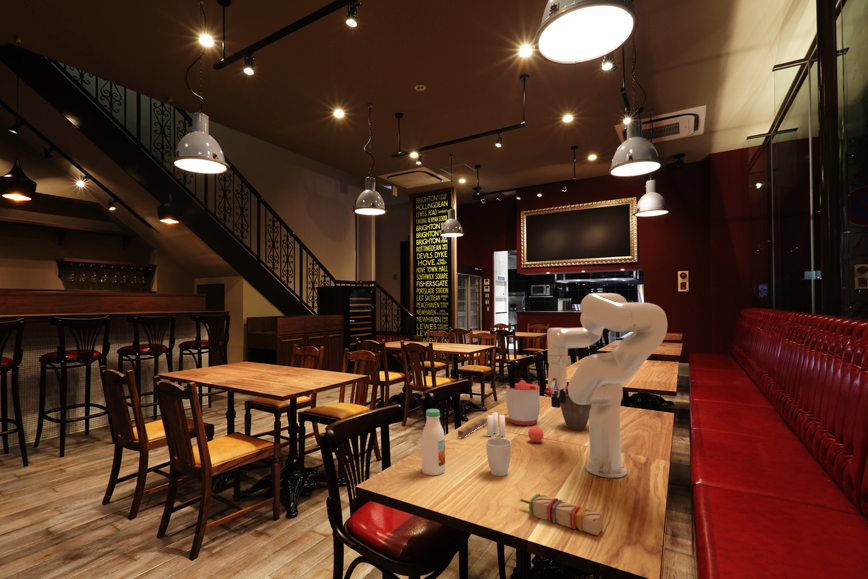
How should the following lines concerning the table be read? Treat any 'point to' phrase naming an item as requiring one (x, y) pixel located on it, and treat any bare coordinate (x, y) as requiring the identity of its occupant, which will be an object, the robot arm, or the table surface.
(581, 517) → the skewer
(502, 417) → the front pin
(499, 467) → the cup
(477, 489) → the table surface
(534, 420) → the citrus juicer
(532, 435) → the ball
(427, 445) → the milk bottle
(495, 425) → the pin
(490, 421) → the pin
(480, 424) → the brown textured bar
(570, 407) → the plant pot
